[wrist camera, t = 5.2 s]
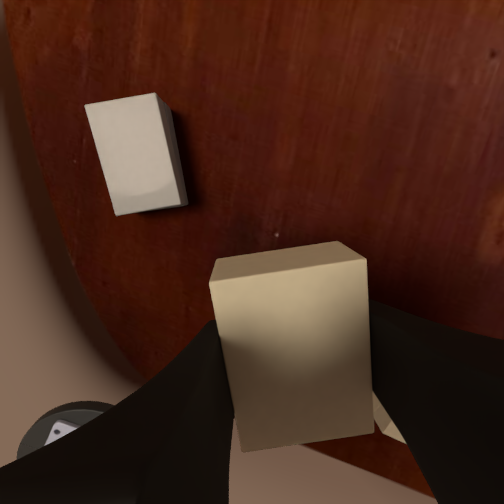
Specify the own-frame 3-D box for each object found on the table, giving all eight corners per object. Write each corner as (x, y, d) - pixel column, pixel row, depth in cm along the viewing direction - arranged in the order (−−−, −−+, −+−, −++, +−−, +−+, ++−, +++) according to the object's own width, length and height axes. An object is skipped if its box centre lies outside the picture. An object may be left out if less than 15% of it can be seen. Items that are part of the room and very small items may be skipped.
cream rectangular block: (348, 382, 12) (375, 433, 9) (241, 398, 12) (241, 453, 9) (338, 240, 10) (367, 258, 8) (215, 258, 10) (208, 282, 8)
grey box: (190, 204, 19) (181, 207, 16) (131, 212, 19) (111, 217, 16) (172, 107, 18) (159, 91, 15) (108, 116, 18) (82, 101, 15)
